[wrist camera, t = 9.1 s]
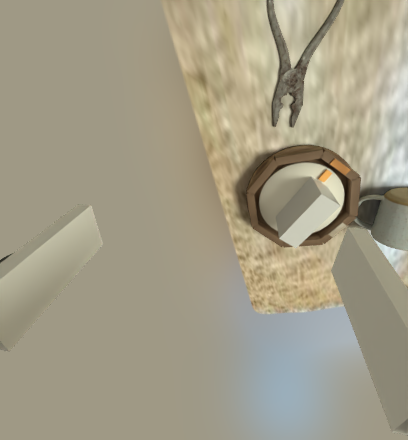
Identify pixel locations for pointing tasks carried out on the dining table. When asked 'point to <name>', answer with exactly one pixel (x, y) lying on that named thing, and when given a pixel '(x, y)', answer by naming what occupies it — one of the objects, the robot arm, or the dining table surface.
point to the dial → (301, 200)
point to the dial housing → (310, 154)
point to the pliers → (295, 77)
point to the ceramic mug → (390, 218)
